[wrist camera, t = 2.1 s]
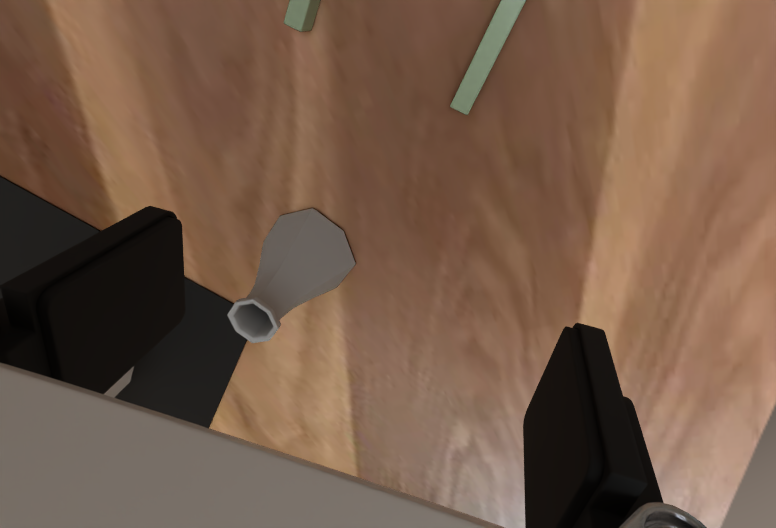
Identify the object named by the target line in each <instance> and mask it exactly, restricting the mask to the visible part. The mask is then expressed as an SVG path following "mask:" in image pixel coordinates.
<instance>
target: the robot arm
mask: <svg viewBox="0 0 776 528" xmlns="http://www.w3.org/2000/svg"><path fill="white" fill-rule="evenodd" d="M0 289H1V293H2V296H3V298H1V299H0V528H504V527H502V526H499V525H496V524H493V523H490V522H487V521H485V520H482V519H479V518H476V517H473V516H470V515H467V514H465V513H462V512H459V511H456V510H453V509H450V508H447V507H444V506H442V505H439V504H436V503H433V502H430V501H427V500H424V499H421V498H418V497H415V496H412V495H409V494H406V493H403V492H400V491H397V490H394V489H391V488H388V487H385V486H382V485H379V484H376V483H373V482H370V481H367V480H364V479H361V478H358V477H355V476H352V475H349V474H346V473H343V472H340V471H337V470H334V469H331V468H328V467H325V466H322V465H319V464H316V463H313V462H310V461H307V460H304V459H301V458H298V457H295V456H292V455H289V454H286V453H283V452H280V451H277V450H273V449H270V448H267V447H264V446H261V445H258V444H255V443H252V442H249V441H246V440H243V439H240V438H237V437H234V436H231V435H228V434H225V433H221V432H218V431H215V430H212V429H209V428H206V427H203V426H200V425H197V424H194V423H191V422H188V421H185V420H181V419H178V418H175V417H172V416H169V415H166V414H163V413H160V412H157V411H154V410H150V409H147V408H144V407H141V406H138V405H135V404H132V403H129V402H125V401H122V400H119V399H116V398H113V397H110V396H107V395H104V394H105V393H106V392H107V391H108V390H109V389H110V388H111V387H112V386H113V385H114V384H115V383H116V382H117V381H118V380H119V379H121V378H122V377H123V376H124V375H125V374H126V373H127V372H128V371H129V370H130V369H131V368H132V367H133V366H134V365H135V364H137V363H138V362H139V361H140V360H141V359H142V358H143V357H144V356H145V355H146V354H147V353H148V352H149V351H150V350H151V349H153V348H154V347H155V346H156V345H157V344H158V343H159V342H160V341H161V340H162V339H163V338H164V337H165V336H166V335H168V334H169V333H170V332H171V331H172V330H173V329H174V328H175V327H176V326H177V325H178V324H179V323H180V322H181V321H182V319H183V317H184V314H185V285H184V261H183V238H182V224H181V222H180V221H179V220H178V219H177V217H176V215H175V214H174V213H173V212H171V211H167V210H163V209H160V208H156V207H152V206H148V207H145V208H144V209H142V210H140V211H138V212H136V213H134V214H132V215H130V216H129V217H127V218H125V219H123V220H121V221H119V222H117V223H116V224H114V225H112V226H110V227H108V228H106V229H104V230H102V231H101V232H99V233H97V234H95V235H93V236H91V237H89V238H88V239H86V240H84V241H82V242H80V243H78V244H76V245H74V246H73V247H71V248H69V249H67V250H65V251H63V252H61V253H60V254H58V255H56V256H54V257H52V258H50V259H48V260H46V261H45V262H43V263H41V264H39V265H37V266H35V267H33V268H32V269H30V270H28V271H26V272H24V273H22V274H20V275H18V276H17V277H15V278H13V279H11V280H9V281H7V282H5V283H4V284H2V285H0ZM523 436H524V479H525V521H526V528H706V527H705V526H704V525H703V524H702V523H701V522H700V521H698V520H697V519H696V518H694V517H693V516H691V515H690V514H689V513H687V512H685V511H683V510H681V509H679V508H677V507H675V506H673V505H669V504H665V503H663V500H662V496H661V493H660V490H659V487H658V483H657V480H656V477H655V473H654V470H653V467H652V464H651V460H650V457H649V454H648V450H647V447H646V444H645V441H644V437H643V434H642V431H641V427H640V424H639V421H638V418H637V414H636V411H635V408H634V405H633V403H632V401H631V400H630V399H629V398H627V397H624V396H623V395H622V391H621V388H620V384H619V380H618V377H617V373H616V370H615V366H614V363H613V359H612V356H611V352H610V349H609V345H608V342H607V338H606V335H605V332H604V330H602V329H598V328H595V327H591V326H587V325H584V324H580V323H576V324H575V325H574V326H573V328H570V327H567V326H566V327H565V328H564V329H563V331H562V333H561V335H560V337H559V340H558V342H557V344H556V346H555V349H554V351H553V353H552V355H551V357H550V360H549V362H548V364H547V366H546V369H545V371H544V373H543V375H542V377H541V380H540V382H539V384H538V386H537V389H536V391H535V393H534V395H533V397H532V400H531V402H530V404H529V406H528V409H527V411H526V414H525V418H524V424H523Z"/></svg>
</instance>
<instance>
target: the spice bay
mask: <svg viewBox="0 0 776 528" xmlns="http://www.w3.org/2000/svg"><path fill="white" fill-rule="evenodd" d="M525 2H526V0H501V2H500V4H499V6H498V8H497V10H496V12H495V14H494V16H493V18H492V20H491V22H490V24H489V26H488V29H487V31H486V33H485V35H484V37H483V39H482V41H481V43H480V45H479V47H478V49H477V51H476V53H475V55H474V57H473V60H472V62H471V64H470V66H469V68H468V70H467V72H466V74H465V76H464V78H463V80H462V82H461V84H460V86H459V88H458V91H457V93H456V95H455V97H454V99H453V101H452V103H451V105H450V107H452V108H454V109H455V110H457V111H459V112H461V113H463V114H465V115H468V113H469V112H470V110H471V108H472V106H473V104H474V102H475V100H476V98H477V96H478V94H479V92H480V90H481V88H482V86H483V84H484V82H485V80H486V78H487V76H488V74H489V72H490V70H491V68H492V66H493V64H494V62H495V60H496V58H497V57H498V55H499V53H500V51H501V49H502V47H503V45H504V43H505V41H506V39H507V37H508V35H509V33H510V31H511V29H512V27H513V25H514V23H515V21H516V19H517V17H518V15H519V13H520V11H521V9H522V7H523V5H524V3H525ZM319 3H320V0H290V1H289V5H288V8H287V12H286V16H285V20H284V24H286V25H288V26H290V27H292V28H294V29H296V30H298V31H300V32H303V31H311V30H312V27H313V23H314V20H315V17H316V13H317V10H318V7H319Z"/></svg>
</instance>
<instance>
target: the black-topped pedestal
mask: <svg viewBox="0 0 776 528" xmlns="http://www.w3.org/2000/svg"><path fill="white" fill-rule="evenodd" d="M99 232H100V231H98V230H96V229H95V228H93V227H91V226H89V225H87V224H85V223H84V222H82V221H80V220H78V219H76V218H74V217H73V216H71V215H69V214H67V213H65V212H63V211H62V210H60V209H58V208H56V207H54V206H52V205H51V204H49V203H47V202H45V201H43V200H41V199H40V198H38V197H36V196H34V195H32V194H31V193H29V192H27V191H25V190H23V189H21V188H20V187H18V186H16V185H14V184H12V183H10V182H9V181H7V180H5V179H3V178H1V177H0V285H2V284H4V283H5V282H7V281H9V280H11V279H13V278H15V277H17V276H18V275H20V274H22V273H24V272H26V271H28V270H30V269H32V268H33V267H35V266H37V265H39V264H41V263H43V262H45V261H46V260H48V259H50V258H52V257H54V256H56V255H58V254H60V253H61V252H63V251H65V250H67V249H69V248H71V247H73V246H74V245H76V244H78V243H80V242H82V241H84V240H86V239H88V238H89V237H91V236H93V235H95V234H97V233H99ZM184 285H185V314H184V317H183V319H182V321H181V322H180V323H179V324H178V325H177V326H176V327H175V328H174V329H173V330H172V331H171V332H170V333H169V334H168V335H166V336H165V337H164V338H163V339H162V340H161V341H160V342H159V343H158V344H157V345H156V346H155V347H154V348H153V349H151V350H150V351H149V352H148V353H147V354H146V355H145V356H144V357H143V358H142V359H141V360H140V361H139V362H138V363H137V364H135V365H134V366H133V367H132V368H131V369H130V370H129V371H128V372H127V373H126V374H125V375H124V376H123V377H122V378H121V379H119V380H118V381H117V382H116V383H115V384H114V385H113V386H112V387H111V388H110V389H109V390H108V391H107V392H106V393H105V394H104V395H107V396H110V397H113V398H116V399H119V400H122V401H125V402H129V403H132V404H135V405H138V406H141V407H144V408H147V409H150V410H154V411H157V412H160V413H163V414H166V415H169V416H172V417H175V418H178V419H181V420H185V421H188V422H191V423H194V424H197V425H200V426H203V427H206V428H209V426H210V424H211V421H212V419H213V417H214V414H215V412H216V410H217V407H218V405H219V403H220V401H221V398H222V396H223V394H224V391H225V389H226V387H227V384H228V382H229V380H230V377H231V375H232V373H233V370H234V368H235V366H236V364H237V361H238V359H239V357H240V354H241V352H242V350H243V347H244V345H245V343H246V340H247V339H246V338H244V337H243V336H242V335H240V334H239V333H237V332H236V331H235V329H234V327H233V325H232V323H231V321H230V319H229V317H228V313H229V312H230V310H231V308H232V307H233V304H232V303H230V302H228V301H226V300H224V299H223V298H221V297H219V296H217V295H215V294H213V293H212V292H210V291H208V290H206V289H204V288H202V287H201V286H199V285H197V284H195V283H193V282H191V281H190V280H188V279H186V278H184ZM1 298H3V296H2V293H1V289H0V299H1Z"/></svg>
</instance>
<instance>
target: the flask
mask: <svg viewBox="0 0 776 528" xmlns="http://www.w3.org/2000/svg"><path fill="white" fill-rule="evenodd" d="M355 264H356V263H355V261H354V258H353V255H352V253H351V250H350V247H349V245H348V242H347V239H346V237H345V234H344V231H343V230H341V229H340V228H339V227H337V226H336V225H335V224H333V223H332V222H331V221H329V220H328V219H327V218H325V217H324V216H323V215H321V214H320V213H319V212H317V211H316V210H315V209H313V208H311V209H307V210H302V211H298V212H294V213H290V214H286V215H281V216H280V217H279V218H278V220H277V221H276V223H275V224H274V226H273V228H272V229H271V231H270V232H269V234H268V235H267V237H266V239H265V240H264V243H263V247H262V253H261V259H260V265H259V269H258V273H257V277H256V281H255V285H254V287H253V289H252V290H251V292H250V294H249V295H248V296H247V297H246V298H242V299H239V300H237V301H236V302H235V304H234V305H233V307H232V308H231V310H230V312H229V313H228V317H229V319H230V321H231V323H232V325H233V327H234V329H235V331H236V332H237V333H239V334H240V335H242V336H243V337H244V338H246V339H247V340H249V341H250V342H252V343H256V342H264V341H269V340H270V339H271V338H272V337H273V335H274V334H275V333H276V331H277V330H278V329H279V327H280V325H281V323H280V321H279V320H280V319H281V318H282V317H283V316H284V315H286V314H287V313H288V312H289V311H290V310H292V309H293V308H294V307H296V306H298V305H300V304H302V303H304V302H306V301H308V300H310V299H312V298H314V297H316V296H319V295H321V294H323V293H326V292H328V291H330V290H332V289H334V288H336V287H338V285H339V284H340V283H341V282H342V280H343V279H344V278H345V277H346V275H347V274H348V273H349V272H350V270H351V269H352V268H353V267H354V266H355Z"/></svg>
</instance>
